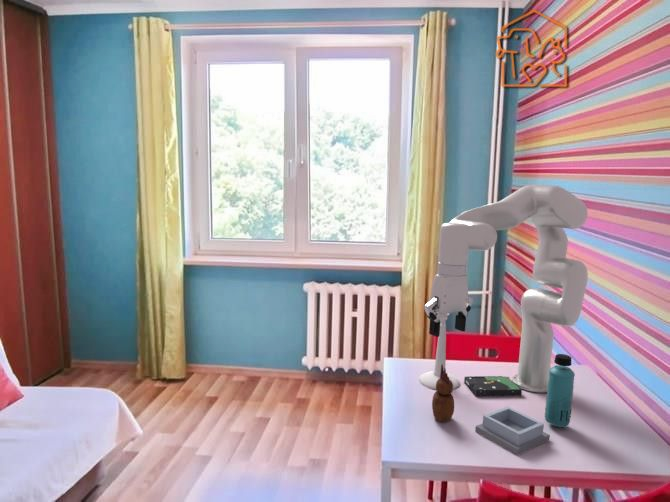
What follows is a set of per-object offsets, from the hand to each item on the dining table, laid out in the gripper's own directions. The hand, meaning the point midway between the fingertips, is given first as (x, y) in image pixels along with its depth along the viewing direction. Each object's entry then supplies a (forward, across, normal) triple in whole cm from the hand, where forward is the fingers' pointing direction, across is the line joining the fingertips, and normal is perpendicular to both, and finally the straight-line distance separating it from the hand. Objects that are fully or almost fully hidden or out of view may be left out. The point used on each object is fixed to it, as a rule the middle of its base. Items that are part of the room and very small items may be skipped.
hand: (447, 332), depth 135 cm
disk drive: (+25, -28, -6) cm, 38 cm away
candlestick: (+25, -18, -18) cm, 35 cm away
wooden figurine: (+25, -1, 0) cm, 25 cm away
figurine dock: (+25, -10, +16) cm, 31 cm away
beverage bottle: (+25, -25, +19) cm, 40 cm away
